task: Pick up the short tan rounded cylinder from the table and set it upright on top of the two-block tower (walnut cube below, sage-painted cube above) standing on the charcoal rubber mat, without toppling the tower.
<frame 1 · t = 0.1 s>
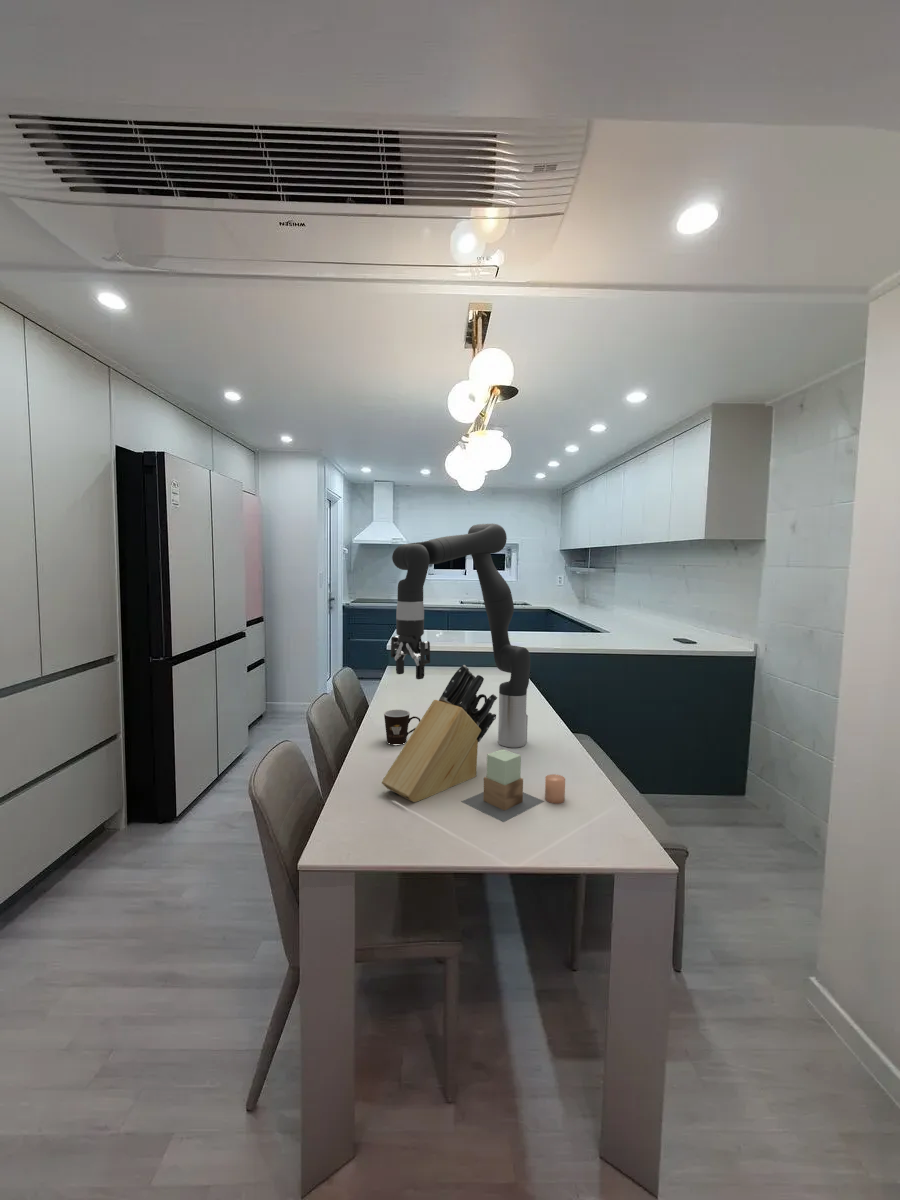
hand: (409, 676, 142), 29 cm above the table, fingers open, 8 cm apart
knife block: (443, 781, 144), on the table
tan rounded cylinder: (554, 801, 133), on the table
top block: (503, 778, 131), point 6 cm above the table, touching bottom block
coffee mug: (400, 743, 174), on the table
mat: (502, 803, 131), on the table
bottom block: (502, 801, 131), resting on mat, touching top block
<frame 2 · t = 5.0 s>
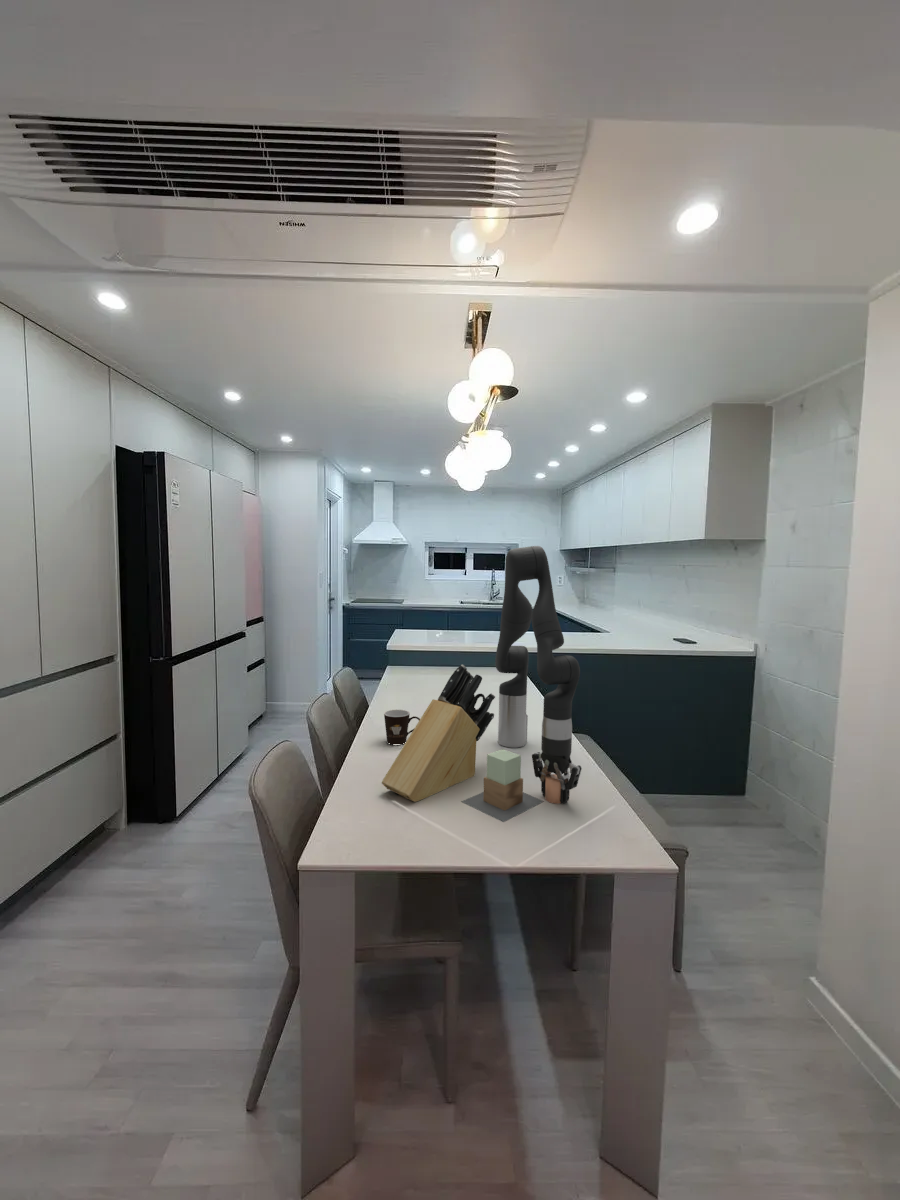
hand: (554, 798, 133), 1 cm above the table, fingers closed on tan rounded cylinder, 5 cm apart
tan rounded cylinder: (554, 800, 133), on the table, touching gripper
everything else where it was.
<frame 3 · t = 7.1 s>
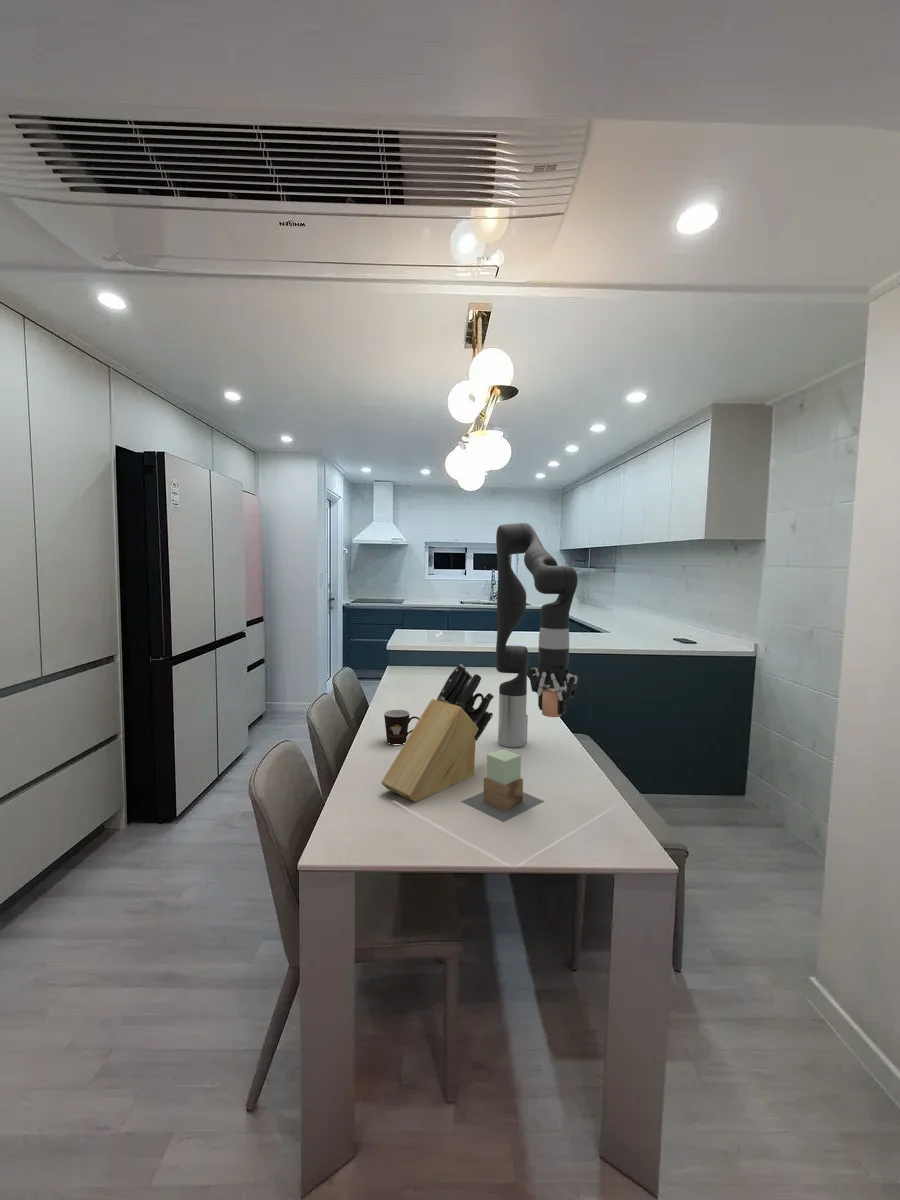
hand: (551, 711, 131), 23 cm above the table, fingers closed on tan rounded cylinder, 5 cm apart
tan rounded cylinder: (551, 714, 131), point 23 cm above the table, touching gripper
everything else where it was.
when the fingers open (14 cm above the table, at t = 9.6 s): tan rounded cylinder stays where it is, resting on top block.
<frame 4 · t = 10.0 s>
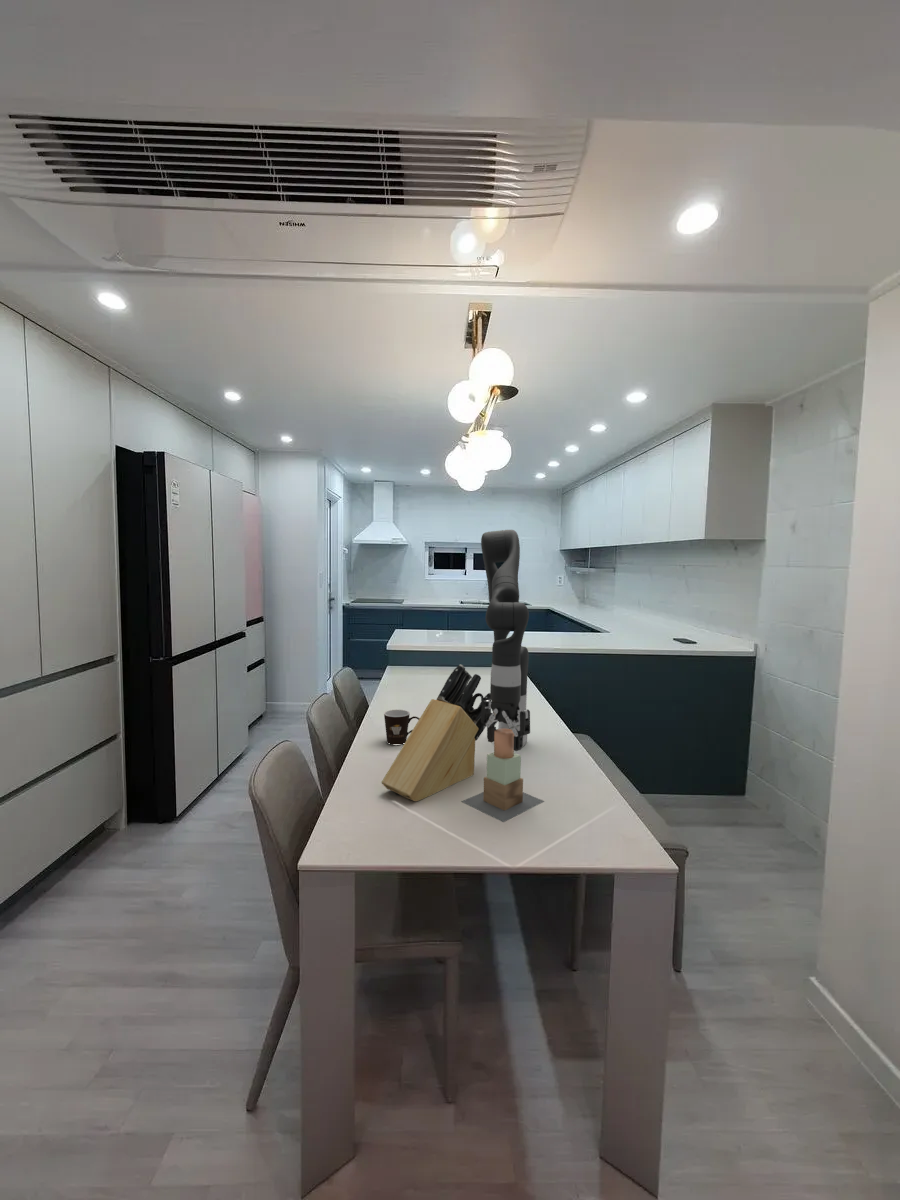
hand: (504, 745, 130), 15 cm above the table, fingers open, 8 cm apart
tan rounded cylinder: (503, 754, 130), point 12 cm above the table, touching top block
top block: (503, 778, 131), point 6 cm above the table, touching bottom block, tan rounded cylinder
everything else where it was.
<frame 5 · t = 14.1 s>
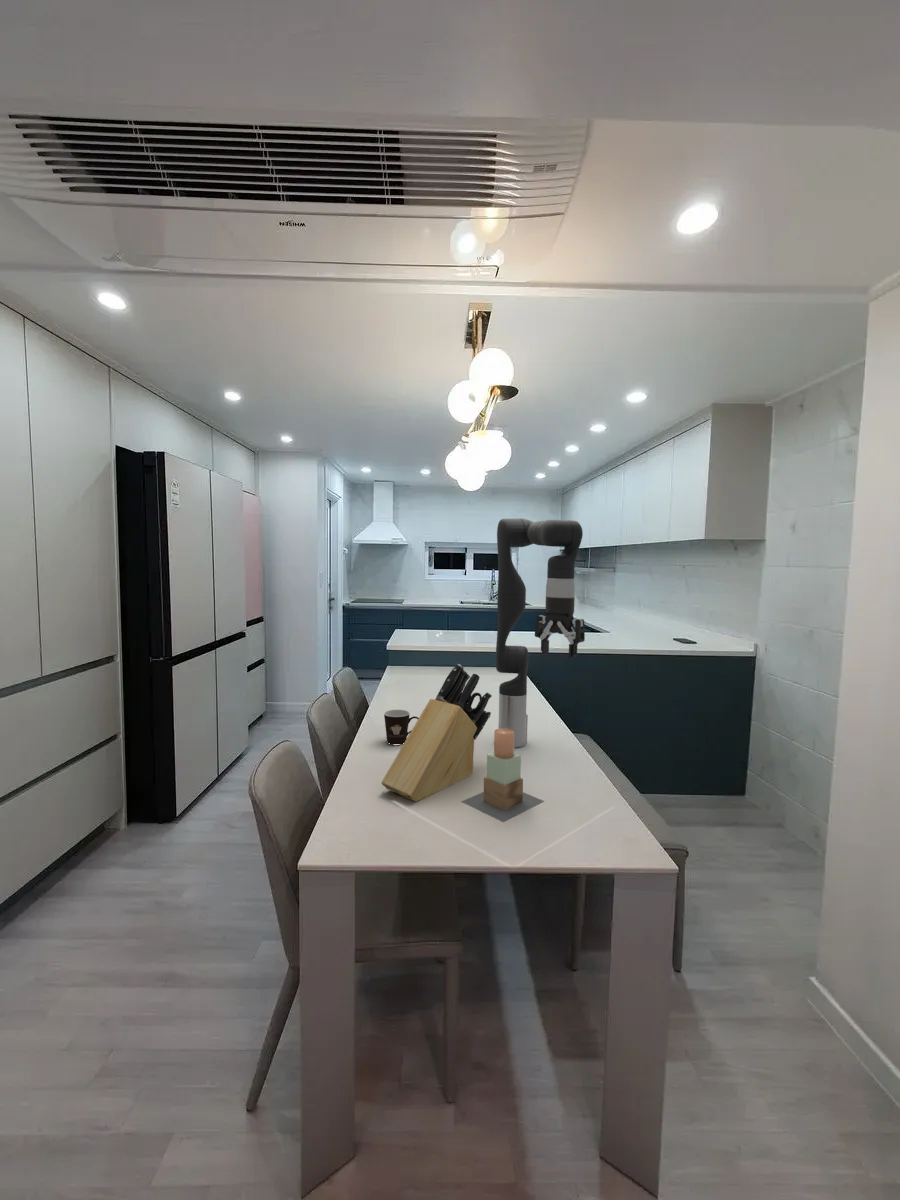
hand: (558, 655, 139), 36 cm above the table, fingers open, 8 cm apart
at the end: tan rounded cylinder 0.1 cm off-centre on the top block, point 6.0 cm above the top block's base; tan rounded cylinder tilted 0°; top block moved 0.0 cm from its start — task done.
